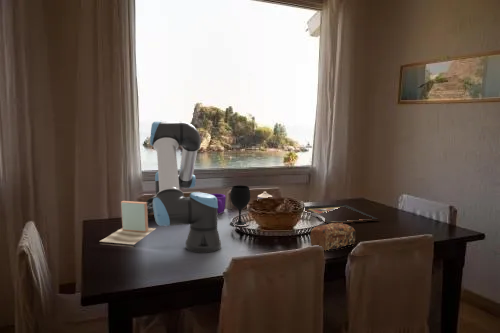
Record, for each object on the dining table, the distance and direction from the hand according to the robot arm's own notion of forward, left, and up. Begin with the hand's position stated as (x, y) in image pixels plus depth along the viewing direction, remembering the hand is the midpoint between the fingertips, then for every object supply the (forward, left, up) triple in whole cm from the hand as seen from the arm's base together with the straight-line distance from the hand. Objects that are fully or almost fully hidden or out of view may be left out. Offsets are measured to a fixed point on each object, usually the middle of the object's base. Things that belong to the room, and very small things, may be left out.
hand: (135, 214), depth 181 cm
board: (-4, +6, -9) cm, 11 cm away
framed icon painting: (-56, -100, -10) cm, 115 cm away
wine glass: (-27, -45, -9) cm, 53 cm away
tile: (-1, +1, -8) cm, 8 cm away
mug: (-3, -53, -9) cm, 54 cm away
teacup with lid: (-18, -78, -9) cm, 81 cm away
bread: (-78, -49, -9) cm, 93 cm away
